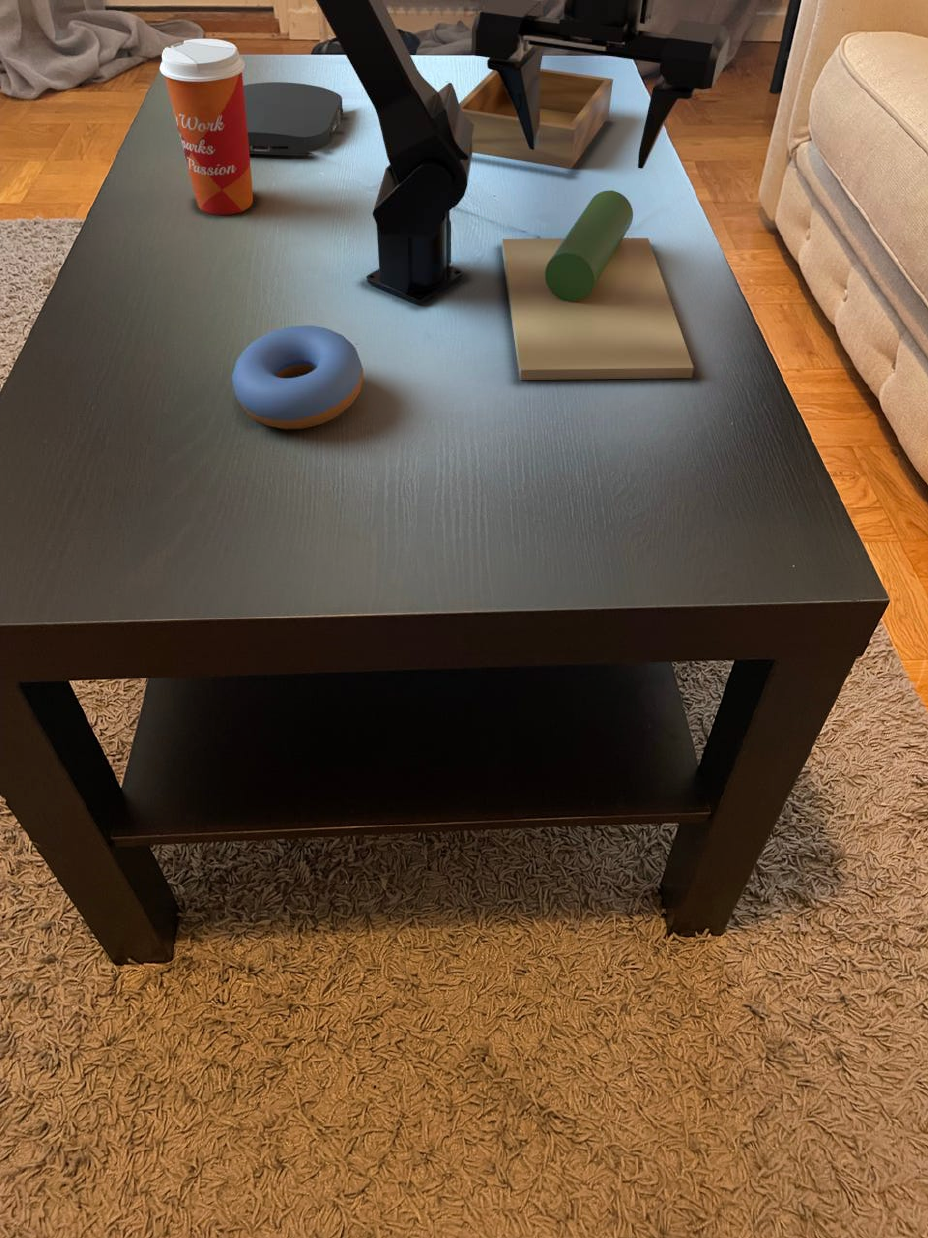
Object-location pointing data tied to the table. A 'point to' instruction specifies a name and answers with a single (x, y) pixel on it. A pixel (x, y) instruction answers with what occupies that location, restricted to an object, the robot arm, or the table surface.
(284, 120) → the media streaming box
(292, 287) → the table surface
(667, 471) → the table surface
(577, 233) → the cucumber
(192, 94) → the paper cup
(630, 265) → the cutting board
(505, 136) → the wooden box
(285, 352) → the doughnut
